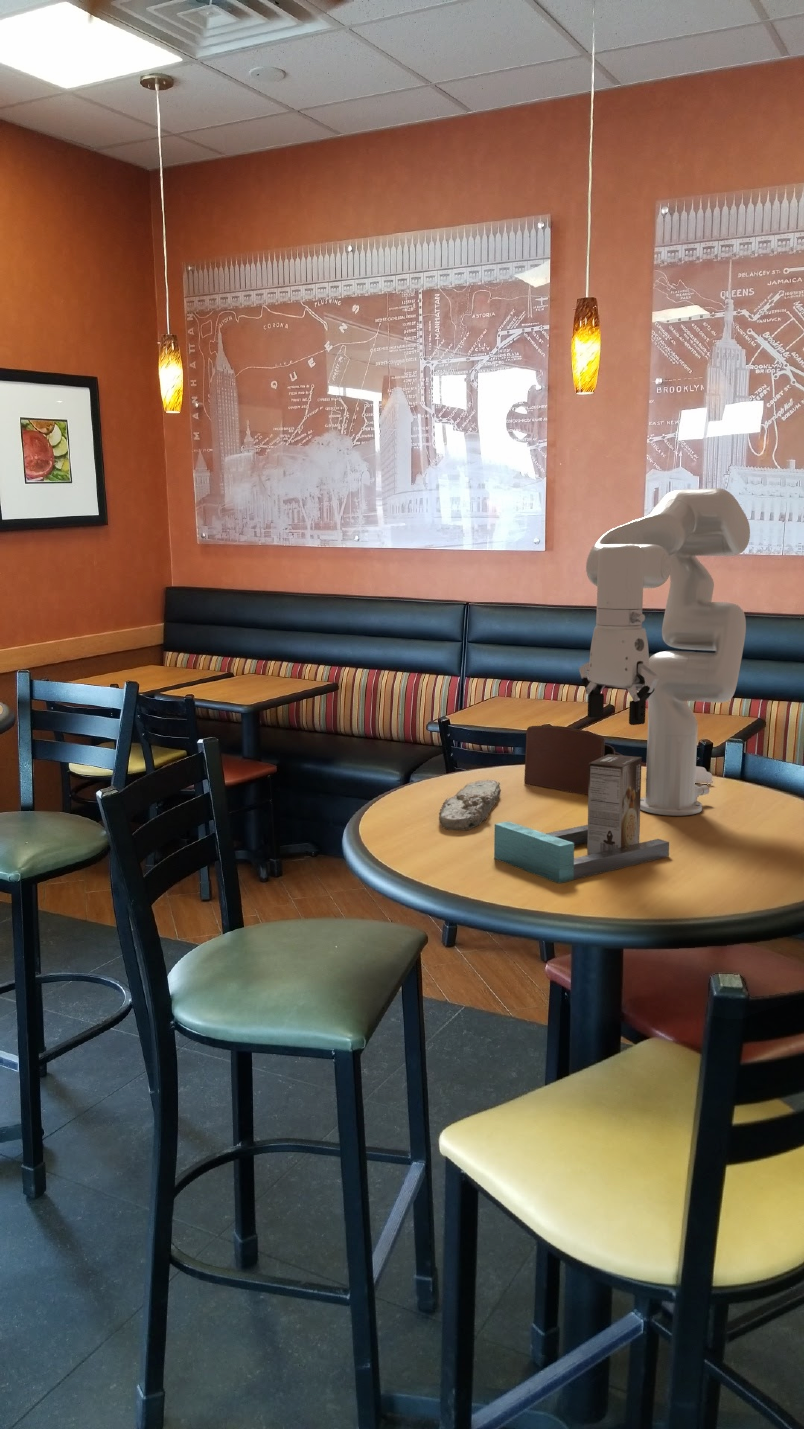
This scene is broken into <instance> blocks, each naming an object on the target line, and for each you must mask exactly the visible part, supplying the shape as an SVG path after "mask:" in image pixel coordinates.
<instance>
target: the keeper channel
mask: <svg viewBox="0 0 804 1429" xmlns="http://www.w3.org/2000/svg"><path fill="white" fill-rule="evenodd" d="M493 837H494V839H493V840H494V841H493V842H494V845H493V848H494V849H493V850H494V854H493V855H494V856H493V857H494V859H495V860H497V861H500V862H503V863H505V864H508V865H510V866H513V867H515V868H518V869H521V870H524V871H526V872H529V873H531V874H534V875H537V876H539V877H541V878H544V879H546V880H549V881H552V882H554V883H557V884H562V883H565V882H571V881H574V880H578V879H583V878H587V877H591V876H594V875H599V874H603V873H607V872H612V871H615V870H619V869H623V868H626V867H632V866H635V865H640V864H643V863H648V862H653V861H655V860H660V859H663V858H664V859H665V858H667V857H669V856H670V841H667V840H664V839H660V838H656V839H652V840H646V841H642V842H639V843H637V844H633V845H629V846H624V847H620V848H616V849H611V850H607V851H603V852H598V853H594V854H586V855H581V856H577V857H575V847H578V846H582V845H587V841H588V824H585V825H580V826H575V827H570V828H566V829H561V830H557V831H550V832H546V833H544V832H543V831H539V830H536V829H533V828H530V827H527V826H523V825H521V824H517V823H514V822H512V821H502V822H498V823H494V835H493Z"/></svg>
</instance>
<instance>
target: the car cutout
mask: <svg viewBox="0 0 804 1429" xmlns="http://www.w3.org/2000/svg"><path fill="white" fill-rule="evenodd" d="M695 783H707V785H708V783H710V784H713V783H714V781H713V774H712V773H711V772H710V771H707V769H706V768H705V767H703V766H697V765H696V775H695ZM708 786H709V785H708Z"/></svg>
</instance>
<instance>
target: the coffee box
mask: <svg viewBox="0 0 804 1429" xmlns="http://www.w3.org/2000/svg"><path fill="white" fill-rule="evenodd" d="M642 759H643V757H642V756H633V755H632V756H630V755H623V754H621V755H612V754H608V755H605V756H603V757H601V758H599V759H597V760H595V761H593V762H591V763H589V788H588V798H587V825H588V841H587V844H586V845H587V846H586V847H587V849H586V850H587V851H586V852H587V855H590V854H594V853H598V852H603V851H607V850H611V849H616V848H620V847H624V846H629V845H633V844H637V843H640V835H641V834H640V829H641V828H640V827H641V826H640V825H641V809H640V800H641V795H642V793H641V791H642Z"/></svg>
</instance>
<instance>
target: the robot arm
mask: <svg viewBox="0 0 804 1429" xmlns="http://www.w3.org/2000/svg"><path fill="white" fill-rule="evenodd" d="M750 539H751V528H750V523H749V520H748V517H747V515H746V513H745V511H744V509H743V508H742V506H741V505H740V504H739V502H738V500H737V499H736V497H735V496H734V495H733V494H732V493H731V492H729V491H728V490H726V489H724V488H720V487H717V488H715V487H713V488H712V487H711V488H683V489H681V488H680V489H676V490H672V491H669V492H667V493H665V495H664V496H662V498H660V500H659V501H658V502H657V503H656V504H655V505H654V507H653V508H652V509H651V510H650V511H649V512H648V514H647V515H646V516H644V517H640V518H637V519H635V520H632V521H630V522H627V523H625V524H622V525H619V526H617V527H615V528H614V527H613V528H612V529H610V530H608V531H607V532H605V533H603V535H602V536H600V537H599V539H598V540H597V541H595V543H594V545H593V546H592V547H591V549H590V550H589V553H588V555H587V559H586V565H585V571H586V576H587V577H588V580H589V581H590V582H591V583H592V585H594V586H596V588H597V589H596V591H597V592H596V618H595V622H596V623H595V624H596V625H595V626H594V628H593V633H592V638H591V644H590V652H589V661H587V662H586V663H584V664H583V665H581V666H579V668H578V671H579V675H580V678H581V683H582V685H583V686H584V689H585V690H584V692H585V694H586V695H587V718H591V719H592V718H598V717H599V718H600V717H603V716H604V705H605V693H604V692H603V693H602V691H603V690H604V689H605V687H609V688H617V689H626V690H627V692H628V693H629V696H630V698H631V699H632V700H630V701H629V707H628V708H629V709H628V710H629V712H628V724H629V725H631V726H637V725H644V724H645V723H646V711H647V742H646V744H647V746H646V770H645V771H646V774H645V775H646V776H645V797H644V796H643V797H642V798H641V800H640V811H643V812H645V813H646V812H647V813H648V814H653V815H659V816H660V815H662V816H671V817H672V816H673V817H675V816H677V817H680V816H681V817H682V816H691V815H695V814H696V815H697V814H699V813H701V812H702V811H703V804H702V803H701V802H700V801H698V798H699V797H700V796H704V795H708V794H710V787H709V785H708V786H707V785H699V784H695V775H696V766H697V752H698V751H697V747H698V727H699V726H698V722H697V721H698V720H697V718H696V714H695V713H694V711H693V710H692V708H691V707H690V705H689V704H688V703H687V702H701V703H717V704H719V703H727V702H728V701H730V700H731V699H733V696H734V695H735V692H736V689H737V685H738V680H739V675H740V668H741V665H742V664H741V663H742V659H743V652H744V646H745V640H746V631H747V622H746V620H747V619H746V614H745V613H744V612H745V611H744V610H743V609H742V608H741V606H740V605H738V604H736V603H733V602H727V601H726V602H725V601H724V602H723V601H720V602H719V601H716V602H715V601H712V600H713V594H714V588H715V581H714V579H713V577H712V575H711V573H710V572H709V570H708V569H707V568H706V567H705V565H703V563H702V562H700V560H699V559H698V558H697V556H704V557H710V556H711V557H712V556H713V557H714V556H716V557H717V556H719V557H720V556H726V557H730V556H738V555H740V554H742V553H743V552H745V550H746V548H747V547H748V545H749V543H750ZM668 579H670V582H669V584H670V585H669V588H668V595H667V599H666V605H665V608H664V616H663V620H662V625H661V626H662V627H661V637H662V640H663V642H664V644H666V645H667V646H668V647H671V648H674V649H679V650H665V651H659V652H656V653H654V654H652V655H651V656H649V655H650V654H649V651H650V650H649V642H648V636H647V630H646V628H643V622H644V621H645V620H646V616H645V614H643V606H644V605H643V601H644V600H643V598H644V589H655V588H658V587H661V586H662V585H664V584H665V583H666V582H667V581H668ZM680 649H681V650H680ZM684 650H685V651H684ZM686 650H694V651H686ZM696 650H697V652H695V651H696ZM699 651H710V652H699ZM711 651H712V652H711ZM646 701H647V702H646ZM646 704H647V705H646ZM646 706H647V710H646Z"/></svg>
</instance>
